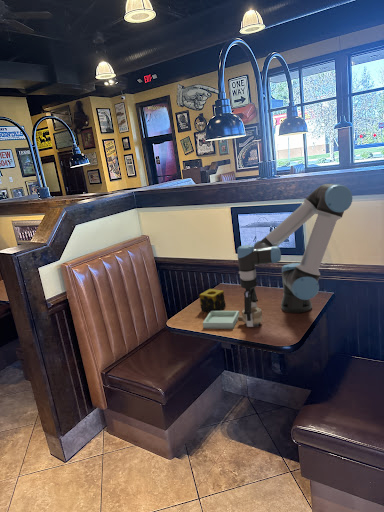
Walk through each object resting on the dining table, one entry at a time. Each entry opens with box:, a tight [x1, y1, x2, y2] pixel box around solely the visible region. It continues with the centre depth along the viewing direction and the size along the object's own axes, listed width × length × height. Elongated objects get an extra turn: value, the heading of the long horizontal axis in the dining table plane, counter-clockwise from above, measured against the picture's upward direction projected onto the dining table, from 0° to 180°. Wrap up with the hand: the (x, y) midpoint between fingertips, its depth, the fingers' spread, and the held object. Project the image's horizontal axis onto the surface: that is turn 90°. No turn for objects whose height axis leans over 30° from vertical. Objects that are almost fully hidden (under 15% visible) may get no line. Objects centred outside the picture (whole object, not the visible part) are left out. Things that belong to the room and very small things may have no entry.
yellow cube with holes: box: [198, 288, 227, 314], centre depth 206 cm, size 10×10×10 cm
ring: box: [237, 306, 263, 324], centre depth 180 cm, size 11×9×5 cm
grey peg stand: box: [244, 311, 261, 328], centre depth 180 cm, size 6×6×6 cm
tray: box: [202, 310, 240, 330], centre depth 188 cm, size 15×15×3 cm
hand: (252, 320), depth 181 cm, fingers open, 13 cm apart
